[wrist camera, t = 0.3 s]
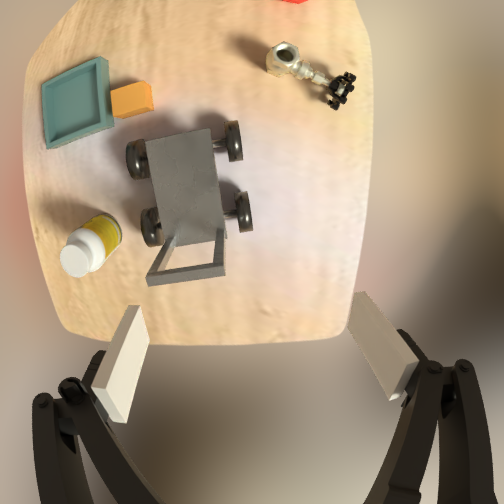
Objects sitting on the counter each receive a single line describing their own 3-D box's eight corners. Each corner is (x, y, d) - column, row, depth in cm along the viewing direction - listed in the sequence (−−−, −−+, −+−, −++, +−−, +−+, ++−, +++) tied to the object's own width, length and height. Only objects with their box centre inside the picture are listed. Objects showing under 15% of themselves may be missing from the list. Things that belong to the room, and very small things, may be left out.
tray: (51, 86, 29) (41, 84, 26) (108, 60, 29) (100, 56, 27) (56, 148, 34) (46, 149, 31) (114, 126, 34) (106, 125, 31)
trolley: (136, 142, 35) (77, 145, 19) (236, 121, 36) (243, 104, 19) (156, 239, 41) (118, 299, 25) (250, 224, 42) (266, 278, 26)
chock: (120, 95, 32) (110, 91, 29) (151, 85, 32) (143, 80, 29) (123, 118, 34) (113, 116, 30) (154, 110, 34) (146, 106, 30)
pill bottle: (109, 205, 38) (74, 227, 28) (130, 238, 41) (103, 269, 30) (83, 226, 39) (47, 253, 29) (104, 257, 42) (74, 291, 31)
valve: (255, 78, 34) (328, 112, 36) (260, 67, 27) (345, 108, 30) (272, 44, 31) (342, 79, 34) (280, 28, 25) (361, 70, 28)
